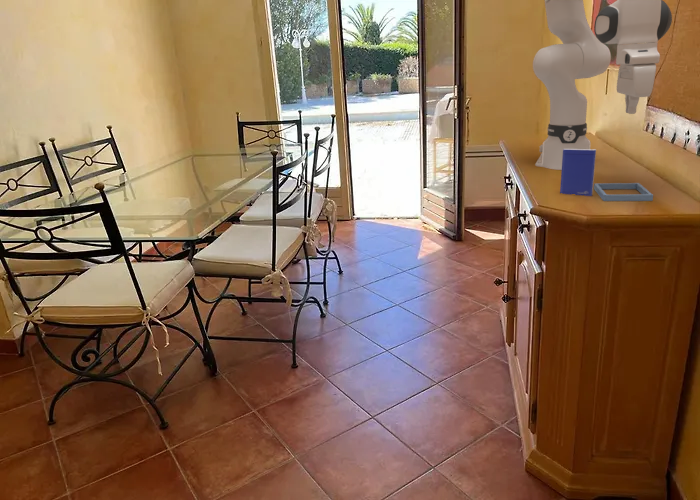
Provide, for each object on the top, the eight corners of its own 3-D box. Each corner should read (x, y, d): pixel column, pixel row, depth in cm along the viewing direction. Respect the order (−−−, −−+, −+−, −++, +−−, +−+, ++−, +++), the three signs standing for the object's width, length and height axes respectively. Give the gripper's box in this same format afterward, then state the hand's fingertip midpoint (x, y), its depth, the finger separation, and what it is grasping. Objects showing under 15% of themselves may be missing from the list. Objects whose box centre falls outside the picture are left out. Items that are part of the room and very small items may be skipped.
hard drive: (591, 196, 147) (595, 150, 143) (559, 194, 151) (562, 149, 147) (592, 194, 148) (596, 149, 144) (560, 193, 152) (563, 148, 148)
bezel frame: (593, 188, 154) (594, 183, 154) (638, 188, 151) (639, 182, 151) (603, 200, 142) (604, 195, 141) (652, 200, 139) (653, 195, 138)
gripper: (612, 57, 145) (608, 110, 150) (632, 57, 126) (626, 117, 131) (638, 55, 144) (633, 109, 148) (662, 55, 125) (655, 116, 129)
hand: (630, 113), depth 139 cm, fingers closed
